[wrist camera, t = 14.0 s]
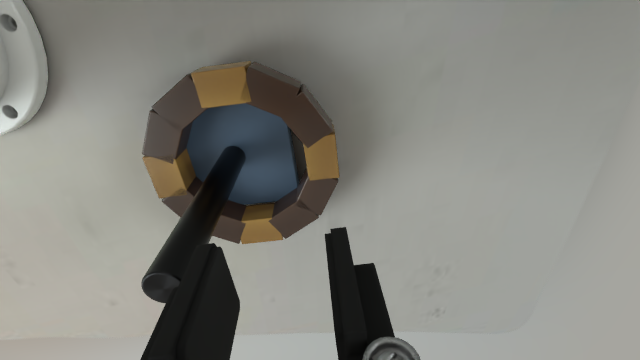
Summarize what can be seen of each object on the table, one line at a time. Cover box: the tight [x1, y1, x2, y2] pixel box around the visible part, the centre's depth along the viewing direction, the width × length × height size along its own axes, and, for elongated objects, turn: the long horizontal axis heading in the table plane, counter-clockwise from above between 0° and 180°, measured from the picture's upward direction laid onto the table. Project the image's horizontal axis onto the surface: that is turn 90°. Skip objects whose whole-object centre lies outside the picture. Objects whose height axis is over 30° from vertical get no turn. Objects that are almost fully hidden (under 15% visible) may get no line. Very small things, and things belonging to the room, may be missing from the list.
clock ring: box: [142, 61, 339, 244], centre depth 21 cm, size 12×12×2 cm
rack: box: [142, 103, 299, 303], centre depth 17 cm, size 8×8×13 cm
